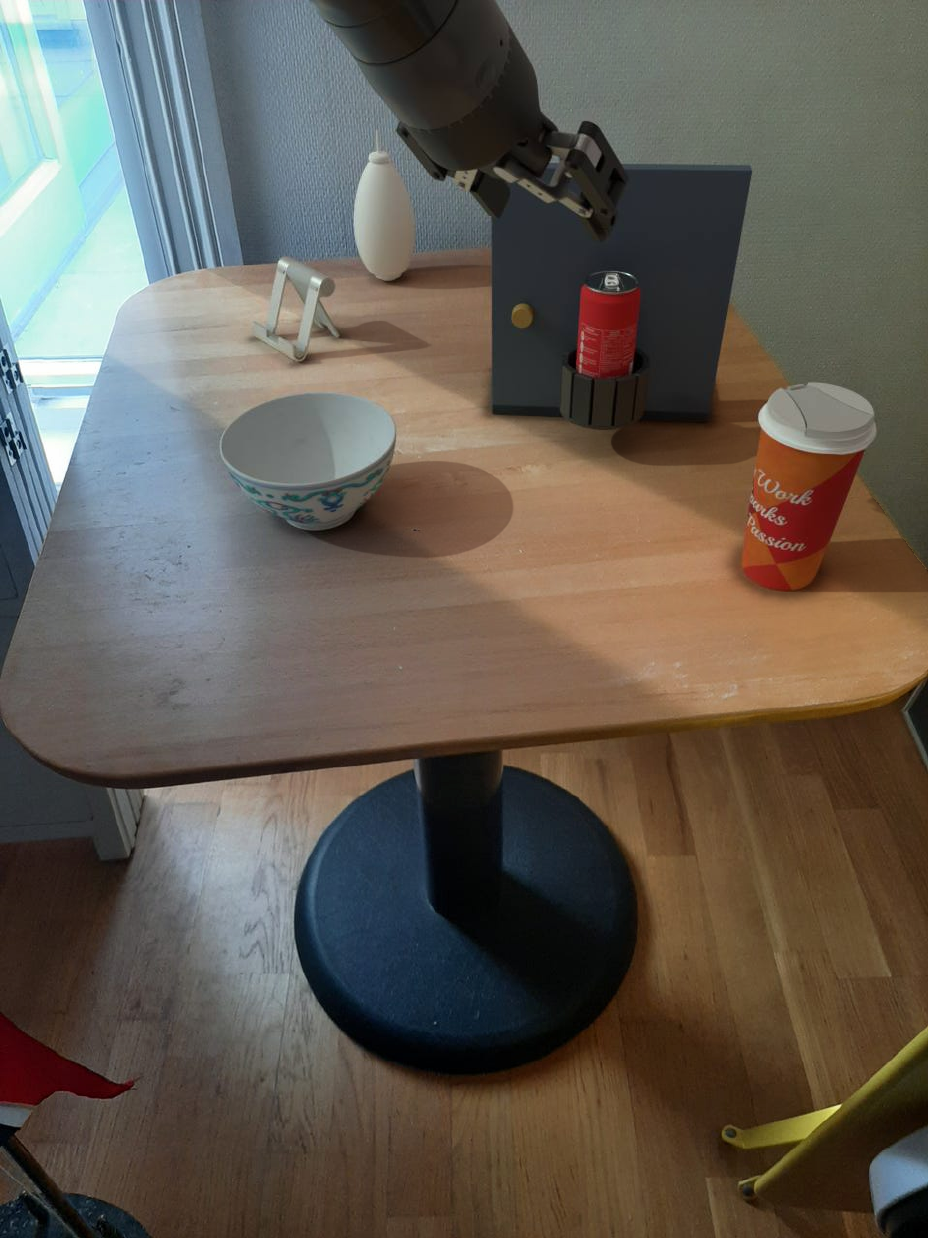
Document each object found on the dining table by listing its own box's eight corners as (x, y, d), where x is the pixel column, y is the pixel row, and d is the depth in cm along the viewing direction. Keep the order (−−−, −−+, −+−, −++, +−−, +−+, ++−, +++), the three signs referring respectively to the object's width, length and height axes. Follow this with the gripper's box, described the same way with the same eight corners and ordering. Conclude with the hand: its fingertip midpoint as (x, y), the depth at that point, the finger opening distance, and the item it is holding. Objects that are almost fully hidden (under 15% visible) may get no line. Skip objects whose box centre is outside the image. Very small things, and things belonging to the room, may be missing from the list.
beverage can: (573, 418, 86) (581, 293, 78) (573, 391, 90) (581, 268, 82) (629, 420, 86) (643, 294, 78) (627, 392, 89) (640, 269, 81)
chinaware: (314, 583, 76) (301, 507, 71) (202, 516, 83) (183, 442, 78) (436, 501, 84) (432, 427, 79) (324, 446, 92) (314, 375, 86)
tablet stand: (254, 339, 110) (241, 269, 104) (309, 319, 113) (299, 251, 108) (294, 364, 105) (282, 292, 99) (350, 342, 108) (342, 272, 103)
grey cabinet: (701, 377, 100) (740, 137, 84) (715, 472, 87) (765, 207, 71) (500, 370, 103) (500, 135, 86) (483, 461, 89) (480, 202, 73)
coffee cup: (709, 548, 78) (740, 388, 68) (794, 529, 80) (837, 370, 70) (761, 611, 72) (804, 446, 62) (852, 589, 74) (908, 424, 64)
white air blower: (420, 287, 120) (412, 136, 107) (360, 292, 119) (345, 140, 107) (415, 264, 125) (406, 118, 113) (357, 268, 125) (343, 122, 113)
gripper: (586, 3, 46) (667, 183, 60) (371, -19, 52) (490, 148, 67) (524, 146, 46) (619, 290, 61) (318, 107, 53) (448, 246, 67)
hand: (551, 216), depth 64 cm, fingers open, 8 cm apart
